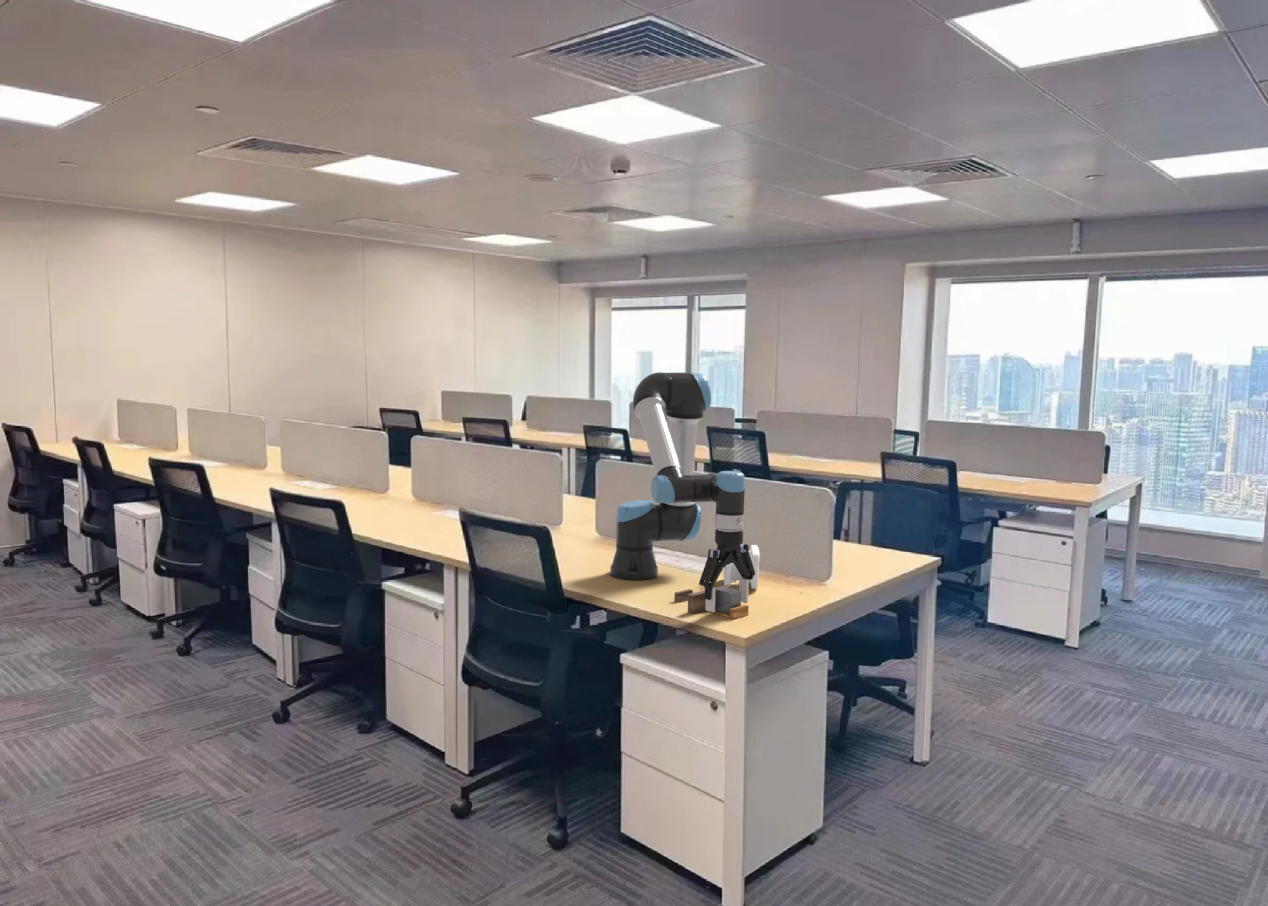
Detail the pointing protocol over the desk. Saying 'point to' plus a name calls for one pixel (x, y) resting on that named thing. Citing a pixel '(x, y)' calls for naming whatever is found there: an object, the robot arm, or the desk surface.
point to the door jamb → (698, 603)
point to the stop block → (726, 599)
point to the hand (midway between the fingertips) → (727, 606)
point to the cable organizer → (733, 574)
